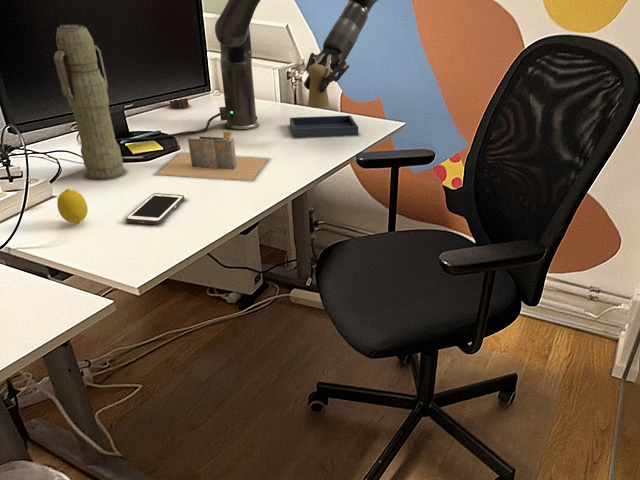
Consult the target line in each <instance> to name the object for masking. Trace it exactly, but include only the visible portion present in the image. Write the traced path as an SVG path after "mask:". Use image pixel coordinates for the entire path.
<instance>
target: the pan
mask: <svg viewBox="0 0 640 480" xmlns="http://www.w3.org/2000/svg"><path fill="white" fill-rule="evenodd" d="M289 127H290V130H291V132H292V134H293V137H294V139H303V138H305V139H306V138H322V137H324V138H325V137H327V138H329V137H349V136H351V137H352V136H359V126H358V124H357V123H356V121H355V119H354V118H353V117H352V115H327V116H326V115H325V116H324V115H323V116H299V117H297V116H295V117H294V116H293V117H289Z"/></svg>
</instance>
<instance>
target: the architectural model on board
mask: <svg viewBox="0 0 640 480" xmlns="http://www.w3.org/2000/svg"><path fill="white" fill-rule="evenodd" d="M222 134H223V136H222V137H219V136H218V137H217V136H203V135H199V137H198V138H194V136H193V135H191V136H189V137H188V138H187V142H188V148H189V153H179V154H178V155H177V156H176V157H175V158H173V160H172V161H170V162H169V163H168V164H167V165H166V166H164V168H162V169H161V170H160V171H159V172H158V173H157V175H159V176H177V177H189V178H191V177H192V178H206V179H208V178H209V179H222V180H223V179H225V180H238V181H253V180H254V179H255V177H256V176H257V174H258V173H259V172H260V170H261V169H262V168H263V167H264V165H265V164H266V162H268V158H261V157H260V158H258V157H244V156H236V155H237V154H236V147H235V139H234V138H233V137H232V135H233V130H231V131H228V130H226V129H224V131H222Z"/></svg>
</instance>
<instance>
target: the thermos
mask: <svg viewBox="0 0 640 480" xmlns="http://www.w3.org/2000/svg"><path fill="white" fill-rule="evenodd" d="M55 34H56V35H55V42H56V47H57V49H58V50H57V51H55V52H54V56H53V61H54V65H55V68H56V69H55V70H56V73H57V77H58V81H59V85H60V88H61V92H62V96H63V97H65V98H67V101H68V105H69V106H70V109H72V112H73V116H74V120H75V124H76V128H77V132H78V136H79V140H80V144H81V146H80V154H81V157H82V162H83V165H84V168H86V174H87V177H88V178H89V179H92V180H100V181H102V180H104V181H105V180H111V179H116V178H119V177H121V176H123V175H124V174H125V169H124V165H123V163H124V160H123V156H122V153H121V147H120V145H119V144H118V141H116V139H115V138H116V135H115V131H114V126H113V122H112V117H111V112H110V109H109V108H110V107H109V105H110V100H109V94H108V90H109V85H108V78H107V74H106V69H105V64H104V60H103V55H102V50H101V49H100V48H99V46H98V45H97V44H95V43H94V39H93V37H92V34H91V33H90V32H89V30H88V28H87V27H86V26H84V25H82V24H78V23H77V24H75V23H74V24H73V23H71V24H69V23H68V24H61V25H59V27H57V28H56V33H55Z"/></svg>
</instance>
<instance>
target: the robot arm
mask: <svg viewBox="0 0 640 480" xmlns="http://www.w3.org/2000/svg"><path fill="white" fill-rule="evenodd" d="M261 1H262V0H228V1H227V3H226V4H225V6H224V8H223V9H222V12H221V13H220V15H219V16H218V17H217V20H216V21H215V24H214V33H215V37H216V39H217V41H218V42H219V46H220V59H219V60H220V62H219V64H220V73H221V80H222V88H223V89H222V90H223V99H224V106H219V112H218V113H216V114H215V115H213V116H212V117H210V118H209V119H208V120H207V123H206V125H205V127H204V128H202V129H200V130H187V131H186V130H185V131H181V132H176V133H170V134H166V135H165V134H163V135H156V136H146V137H142V136H141V137H124V138H123V137H122V138H121V137H120V138H119V137H118V138H119V139H116V142H126V141H127V142H130V141H131V142H132V141H150V140H160V139H167V138H173V137H178V136H183V135H189V134H191V135H192V134H198V133H204V132H206V131H207V130H208V129H209V127H210V123H211V122H212V121H213V120H215V119H216V118H219V117H220V121H221V122H225V121H226V126H227V129H229V130H230V129H231V130H232V129H233V130H251V129H254V128H256V127H257V126H258V116H257V110H256V99H255V98H256V97H255V87H254V77H253V63H252V60H253V55H252V54H253V53H252V52H253V51H252V40H251V30H250V29H251V28H250V25H251V22H252V19H253V16H254V15H255V11H256V10H257V7H258V5H259V3H261ZM378 1H379V0H348V2H347V4H346V5H345V7H344V9H343V10H342V12H341V14H340V15H339V17H338V19H337V20H336V21H335V22H334V24H333V26H332V28H331V29H330V31H329V32H328V34H327V36H326V38H325V39H324V40H323V43H322V50H321V51H320V52H319V53H318V54H315V53H314V52H311V53H310V55H309V57H308V60H307V63H306V65H305V71H306V73H308V68H309V66H311V65H314V64H319V65H323V66H325V69H326V73H325V76H324V77H325V78H323V79H322V80H321V82H320V84H319V86H318V87H317V90H318V91H319V92H320V93H323V92H324V91H325V90H326V88H327V89H328V88H329V85H330V84H331V83H333V82H335V83H337V82H339V80H340V79H341V78H342V76H343V75H344V74H345V73H346V72H347V71H348V69H349V68H350V65H349V63H348V62H347V61H346V60H347V58H348V57H349V55H350V53H351V52H352V50H353V48H354V46H355V44H356V43H357V40H358V39H359V36H360V34H361V32H362V30H363V28H364V26H365V25H366V22H367V20H368V17H369V13H370V12H371V10H372V8H373V6H374V5H375V4H376V3H377V2H378ZM303 86H304V88H305V89H307V90H309V87H310V76H309V74H307V77H306V79H305V80H304V83H303Z"/></svg>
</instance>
